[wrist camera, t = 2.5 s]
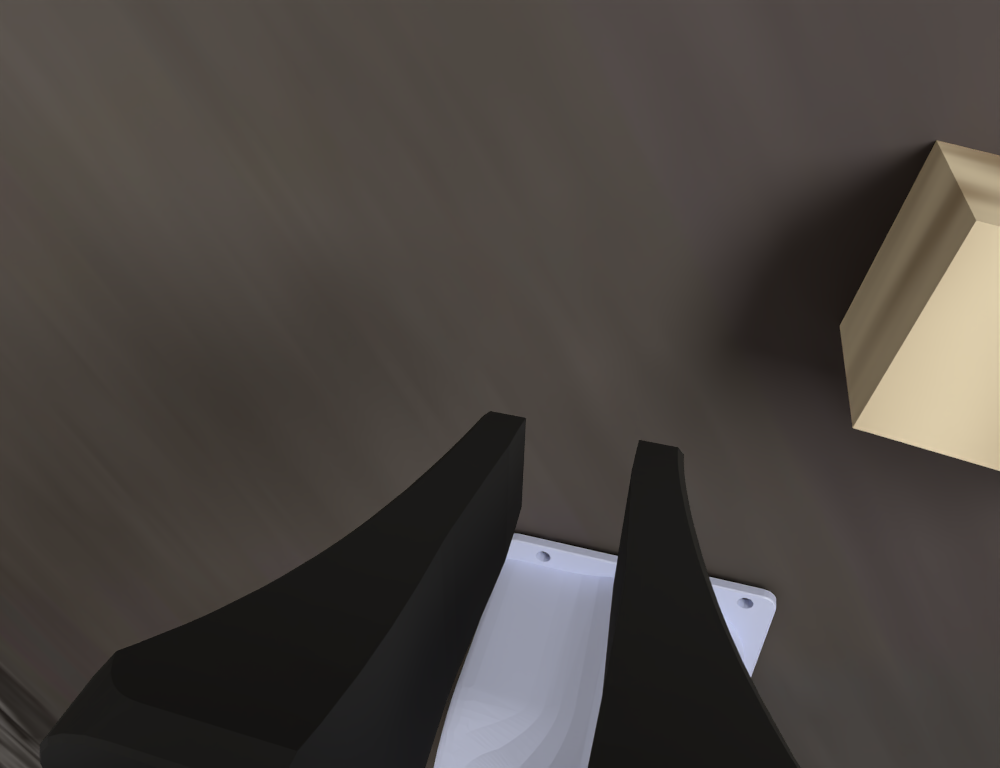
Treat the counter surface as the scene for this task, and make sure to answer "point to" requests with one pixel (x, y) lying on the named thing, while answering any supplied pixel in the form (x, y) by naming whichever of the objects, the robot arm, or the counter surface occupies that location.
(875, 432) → the block
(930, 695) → the counter surface
